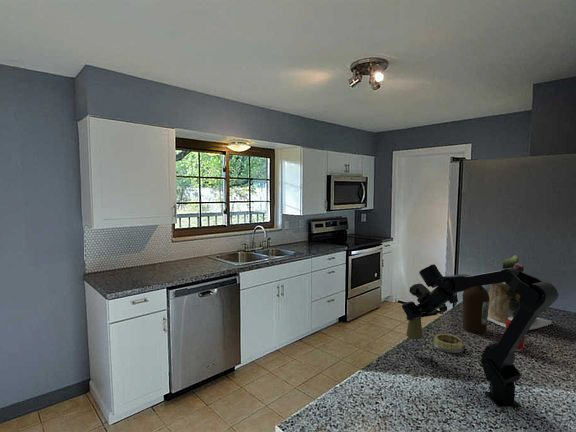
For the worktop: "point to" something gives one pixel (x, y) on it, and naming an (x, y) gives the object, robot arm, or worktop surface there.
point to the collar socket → (448, 343)
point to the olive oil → (475, 310)
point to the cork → (414, 329)
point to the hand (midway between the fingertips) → (412, 317)
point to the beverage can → (521, 345)
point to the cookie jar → (507, 300)
